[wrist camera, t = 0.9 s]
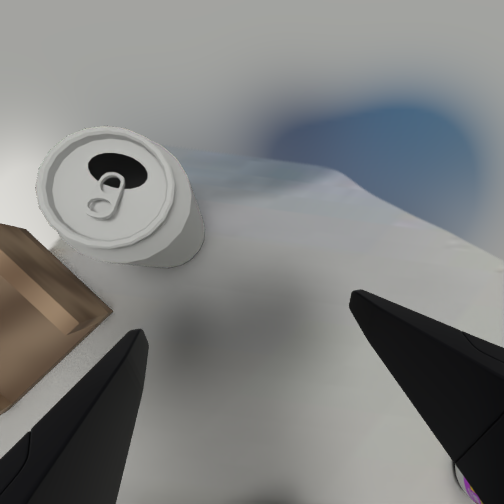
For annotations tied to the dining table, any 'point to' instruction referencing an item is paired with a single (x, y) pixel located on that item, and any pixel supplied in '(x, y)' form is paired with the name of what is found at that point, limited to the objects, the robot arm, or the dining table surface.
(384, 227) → the dining table surface
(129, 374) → the robot arm
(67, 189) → the can
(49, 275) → the u rest
